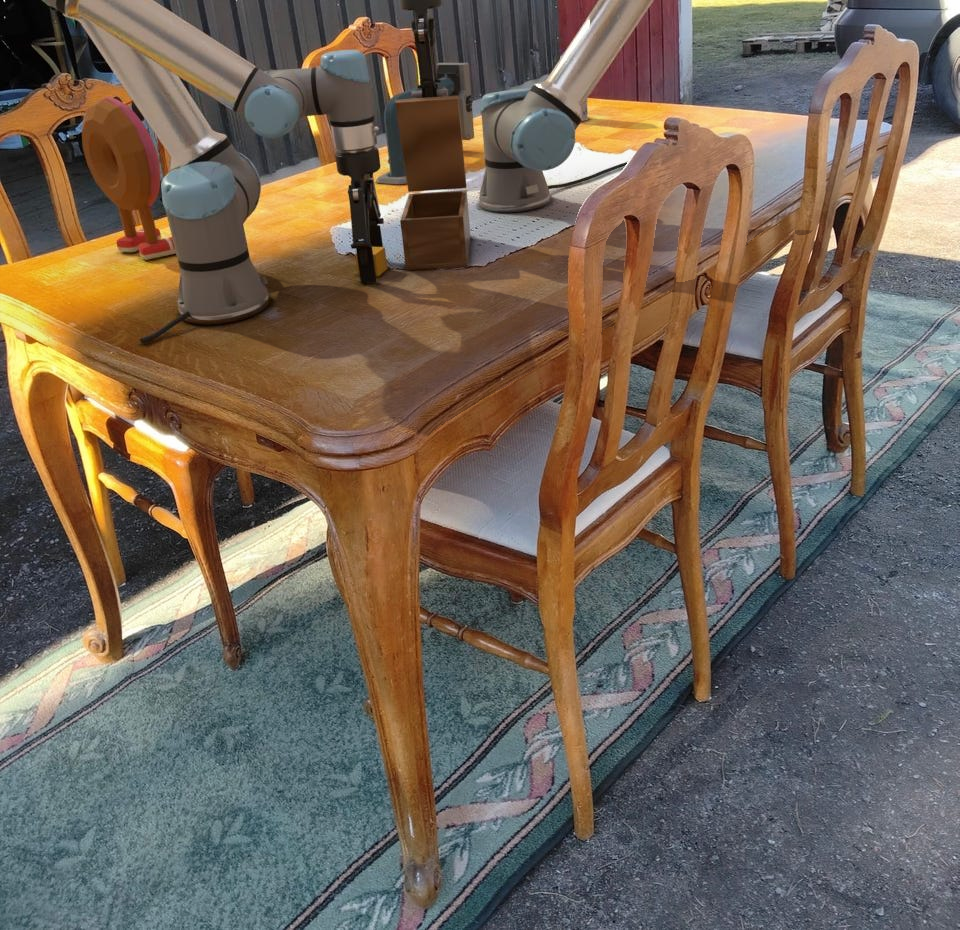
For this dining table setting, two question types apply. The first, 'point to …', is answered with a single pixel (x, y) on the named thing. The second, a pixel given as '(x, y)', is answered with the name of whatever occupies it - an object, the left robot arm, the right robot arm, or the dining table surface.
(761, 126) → the dining table surface
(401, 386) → the dining table surface
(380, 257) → the block
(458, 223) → the chest
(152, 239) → the toy
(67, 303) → the dining table surface
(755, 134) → the dining table surface
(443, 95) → the lid
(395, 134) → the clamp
